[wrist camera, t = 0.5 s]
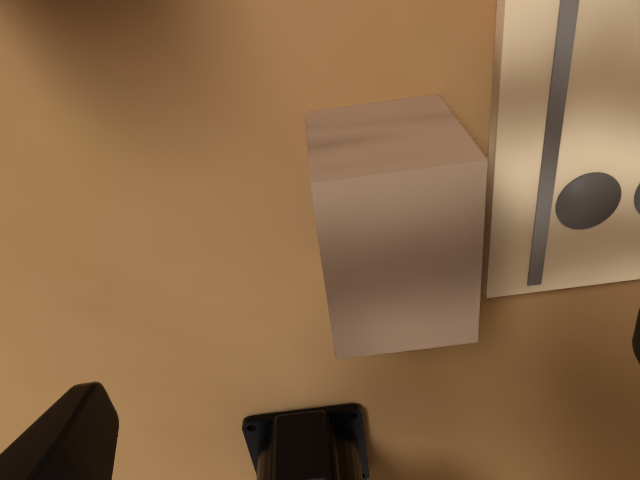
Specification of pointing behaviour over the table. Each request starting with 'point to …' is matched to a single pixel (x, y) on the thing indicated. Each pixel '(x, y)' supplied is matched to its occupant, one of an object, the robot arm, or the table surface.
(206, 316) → the table surface
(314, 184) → the upright wooden block
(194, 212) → the table surface
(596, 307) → the table surface
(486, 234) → the guide board
